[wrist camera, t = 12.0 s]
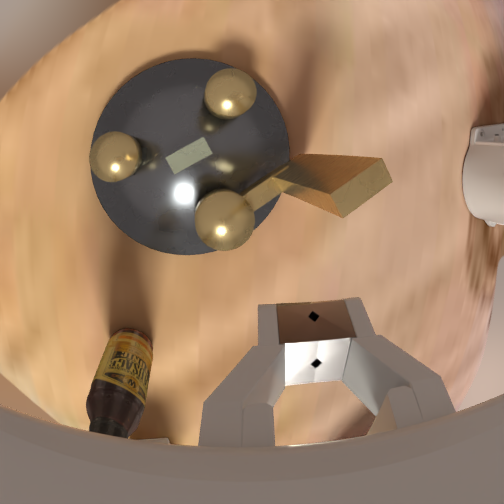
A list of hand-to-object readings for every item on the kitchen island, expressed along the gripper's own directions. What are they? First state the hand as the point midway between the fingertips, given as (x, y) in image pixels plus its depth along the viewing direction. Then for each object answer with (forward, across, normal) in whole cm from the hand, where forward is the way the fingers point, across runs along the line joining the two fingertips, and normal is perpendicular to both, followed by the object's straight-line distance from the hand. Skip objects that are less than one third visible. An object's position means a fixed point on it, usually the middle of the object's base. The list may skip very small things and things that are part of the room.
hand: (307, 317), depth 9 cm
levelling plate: (+26, +9, 0) cm, 28 cm away
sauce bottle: (+20, +20, +22) cm, 35 cm away
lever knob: (+25, +2, +5) cm, 26 cm away
